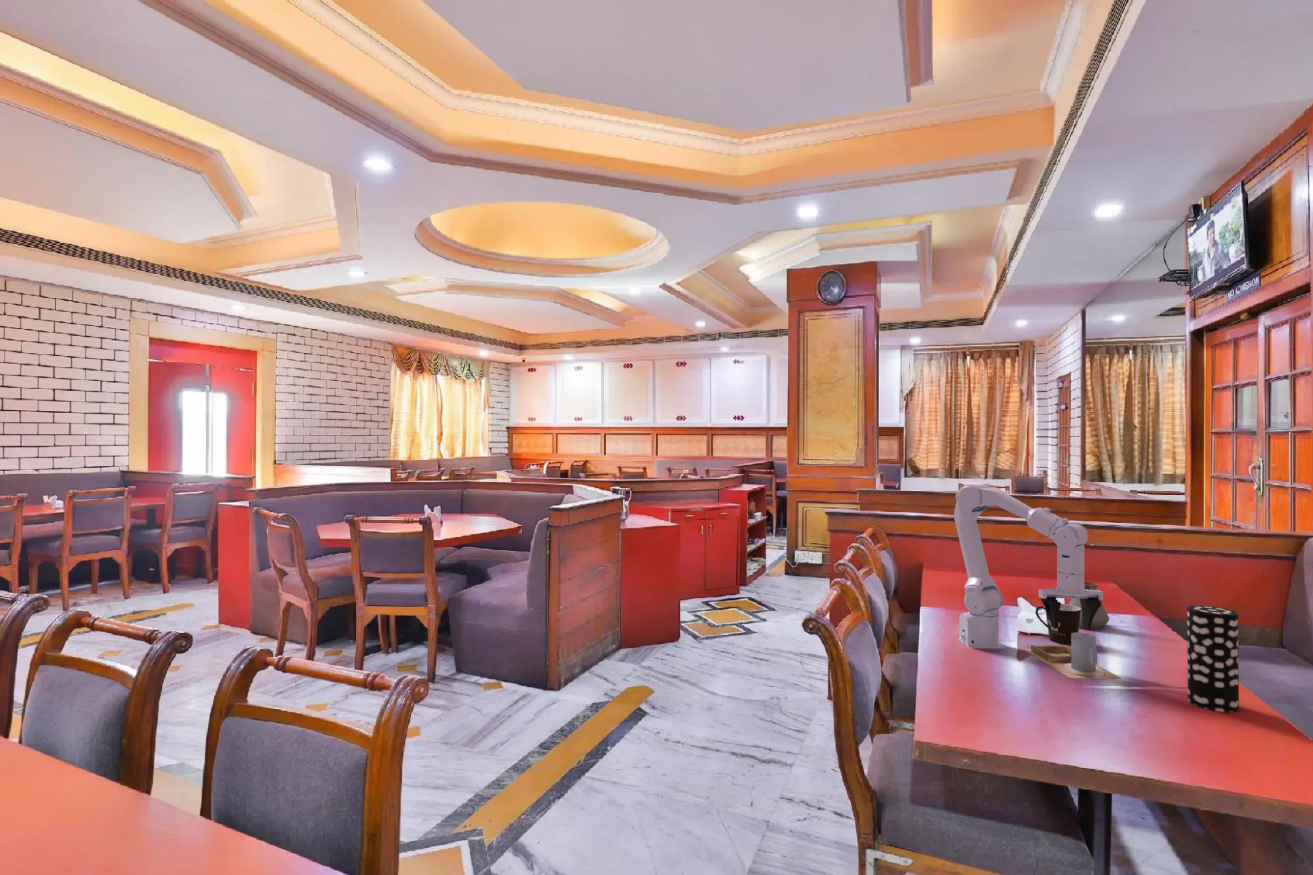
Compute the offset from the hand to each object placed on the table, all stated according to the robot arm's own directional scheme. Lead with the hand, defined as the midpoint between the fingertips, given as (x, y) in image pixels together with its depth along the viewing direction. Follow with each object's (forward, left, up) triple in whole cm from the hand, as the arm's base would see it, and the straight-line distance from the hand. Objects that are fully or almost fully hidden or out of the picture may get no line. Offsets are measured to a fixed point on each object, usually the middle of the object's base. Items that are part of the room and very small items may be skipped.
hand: (1070, 627), depth 165 cm
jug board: (+1, +2, -10) cm, 10 cm away
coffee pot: (+25, +35, -10) cm, 44 cm away
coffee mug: (+10, +22, -10) cm, 26 cm away
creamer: (+1, -4, -9) cm, 10 cm away
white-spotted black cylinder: (+17, -23, -10) cm, 30 cm away
